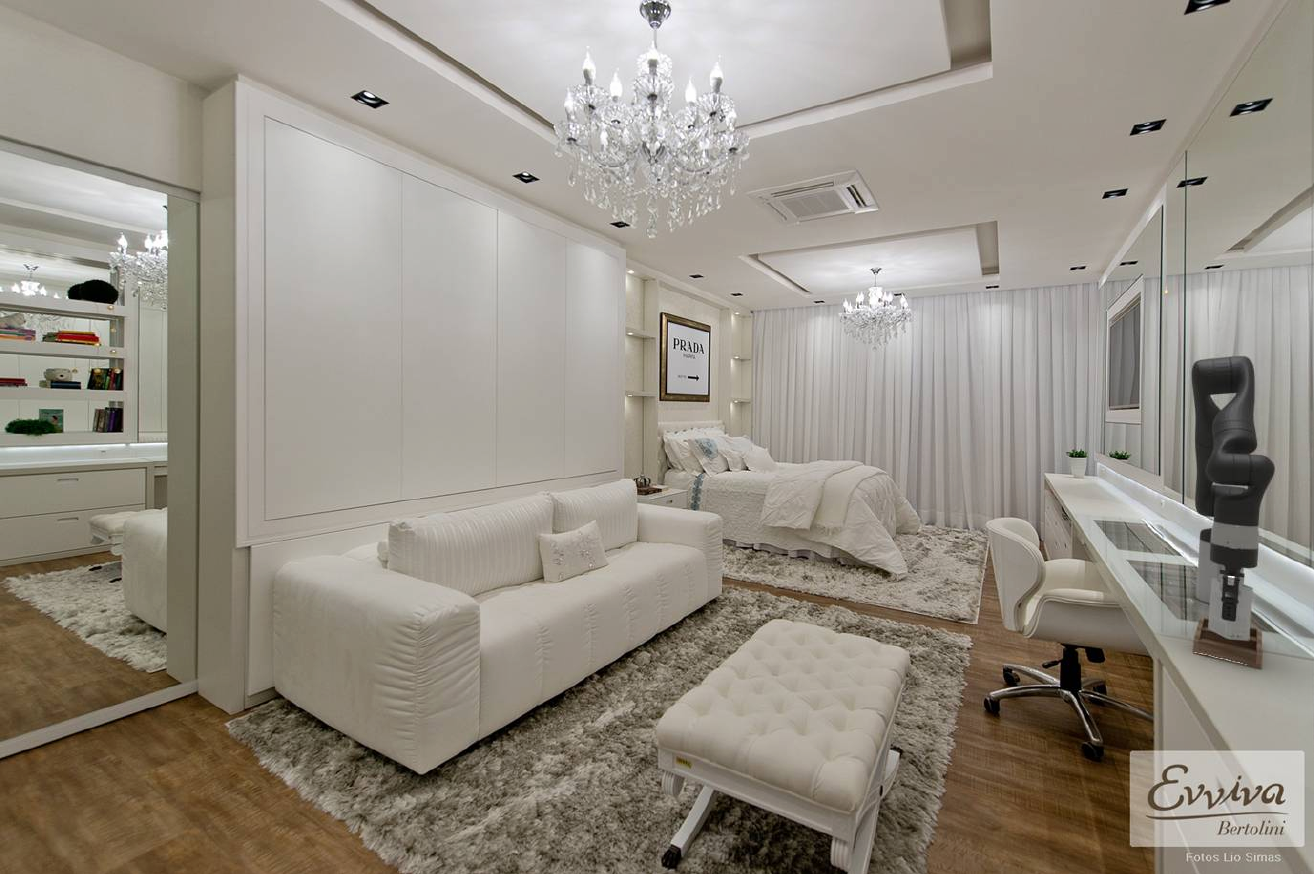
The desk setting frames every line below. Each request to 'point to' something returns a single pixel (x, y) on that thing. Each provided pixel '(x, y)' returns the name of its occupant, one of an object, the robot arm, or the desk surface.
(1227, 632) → the skincare box
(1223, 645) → the wooden divided tray
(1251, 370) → the robot arm
